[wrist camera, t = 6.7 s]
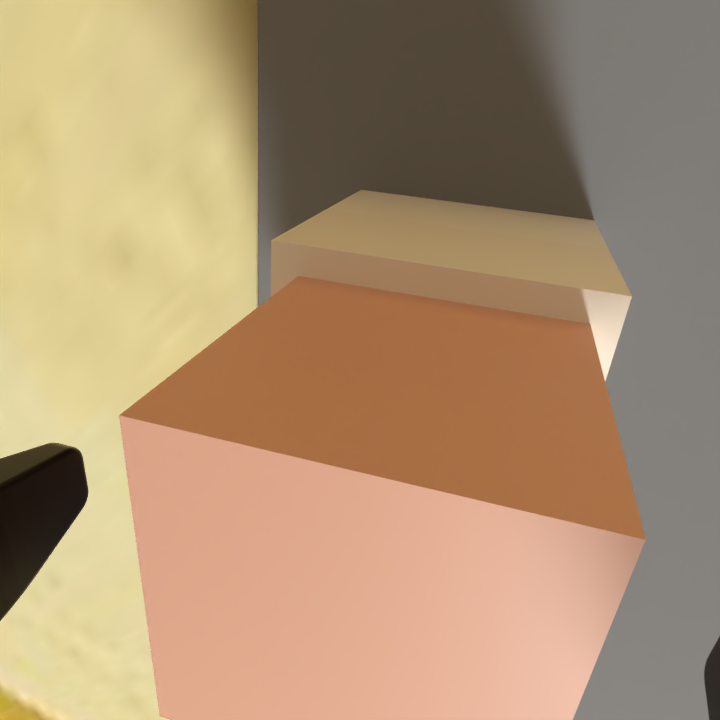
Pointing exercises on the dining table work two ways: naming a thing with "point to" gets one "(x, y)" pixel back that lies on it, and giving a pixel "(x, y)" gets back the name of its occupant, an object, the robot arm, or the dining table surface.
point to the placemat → (555, 197)
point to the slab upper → (459, 269)
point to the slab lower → (474, 217)
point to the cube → (380, 513)
